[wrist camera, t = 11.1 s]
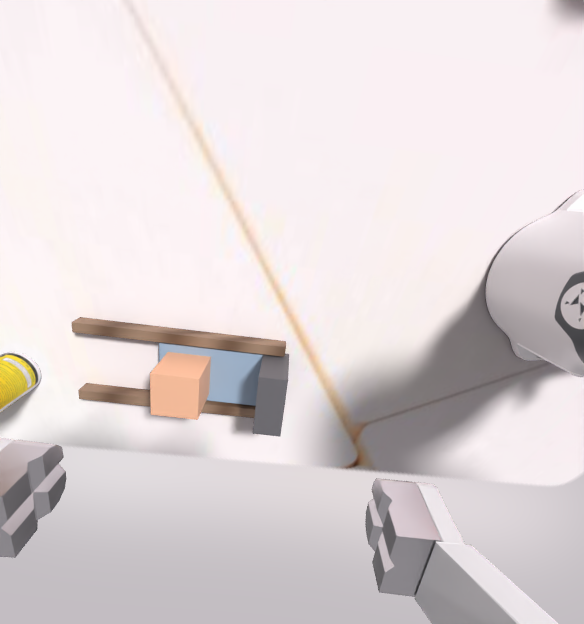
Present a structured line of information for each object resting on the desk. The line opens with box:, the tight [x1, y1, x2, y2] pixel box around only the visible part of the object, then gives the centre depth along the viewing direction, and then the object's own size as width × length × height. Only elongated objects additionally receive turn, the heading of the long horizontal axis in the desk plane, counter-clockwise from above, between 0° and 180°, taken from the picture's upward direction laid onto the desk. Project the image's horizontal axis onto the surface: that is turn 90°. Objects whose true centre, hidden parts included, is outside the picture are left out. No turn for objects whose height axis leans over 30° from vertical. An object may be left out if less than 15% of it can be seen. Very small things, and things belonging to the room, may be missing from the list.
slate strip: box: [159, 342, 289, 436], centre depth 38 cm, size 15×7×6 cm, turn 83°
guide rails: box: [72, 317, 286, 418], centre depth 40 cm, size 24×10×2 cm, turn 83°
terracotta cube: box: [150, 352, 211, 420], centre depth 37 cm, size 5×5×5 cm
